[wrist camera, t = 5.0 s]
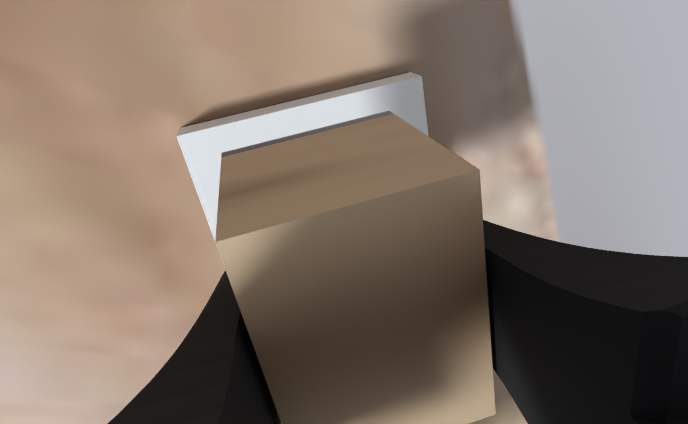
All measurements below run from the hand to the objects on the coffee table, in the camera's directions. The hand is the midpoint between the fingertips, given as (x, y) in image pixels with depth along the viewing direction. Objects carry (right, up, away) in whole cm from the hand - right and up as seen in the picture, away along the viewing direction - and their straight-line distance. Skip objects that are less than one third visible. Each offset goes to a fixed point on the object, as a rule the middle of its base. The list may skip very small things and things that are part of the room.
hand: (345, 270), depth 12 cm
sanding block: (0, +1, +1) cm, 2 cm away
